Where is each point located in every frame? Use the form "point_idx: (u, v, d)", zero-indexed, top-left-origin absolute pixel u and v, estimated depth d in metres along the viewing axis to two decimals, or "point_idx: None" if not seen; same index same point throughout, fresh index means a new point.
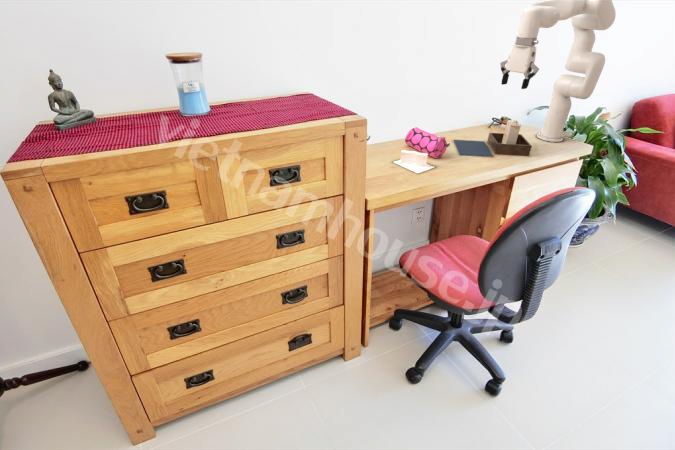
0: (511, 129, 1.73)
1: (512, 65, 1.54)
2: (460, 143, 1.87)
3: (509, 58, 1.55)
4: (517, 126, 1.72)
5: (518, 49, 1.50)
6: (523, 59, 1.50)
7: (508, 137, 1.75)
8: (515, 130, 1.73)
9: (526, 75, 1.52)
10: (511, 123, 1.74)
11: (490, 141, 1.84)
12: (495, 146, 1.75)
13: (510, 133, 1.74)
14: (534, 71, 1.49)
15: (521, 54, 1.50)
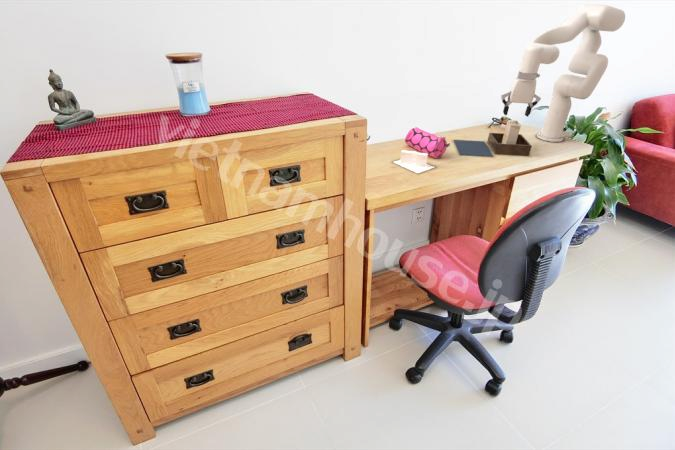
0: (511, 129, 1.73)
1: (518, 97, 1.67)
2: (460, 143, 1.87)
3: (515, 92, 1.66)
4: (517, 126, 1.72)
5: (525, 83, 1.63)
6: (530, 91, 1.65)
7: (508, 137, 1.75)
8: (515, 130, 1.73)
9: (531, 104, 1.69)
10: (511, 123, 1.74)
11: (490, 141, 1.84)
12: (495, 146, 1.75)
13: (510, 133, 1.74)
14: (538, 100, 1.68)
15: (528, 87, 1.64)
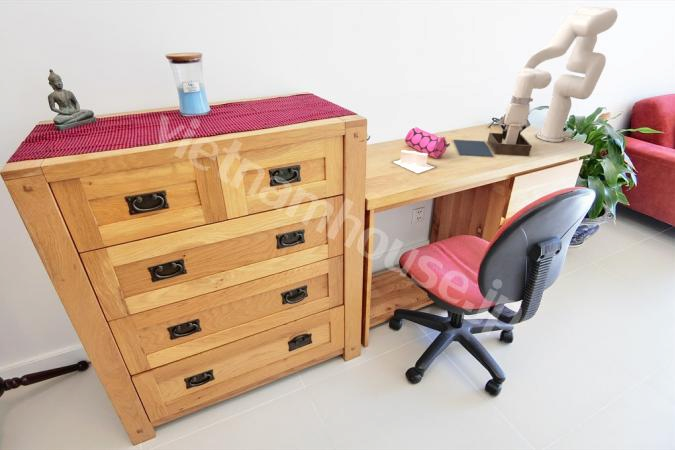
0: (511, 129, 1.73)
1: (512, 121, 1.73)
2: (460, 143, 1.87)
3: (509, 115, 1.72)
4: (517, 126, 1.72)
5: (518, 107, 1.69)
6: (524, 115, 1.71)
7: (508, 137, 1.75)
8: (515, 130, 1.73)
9: (521, 129, 1.75)
10: None
11: (490, 141, 1.84)
12: (495, 146, 1.75)
13: (510, 133, 1.74)
14: (527, 125, 1.75)
15: (522, 111, 1.70)
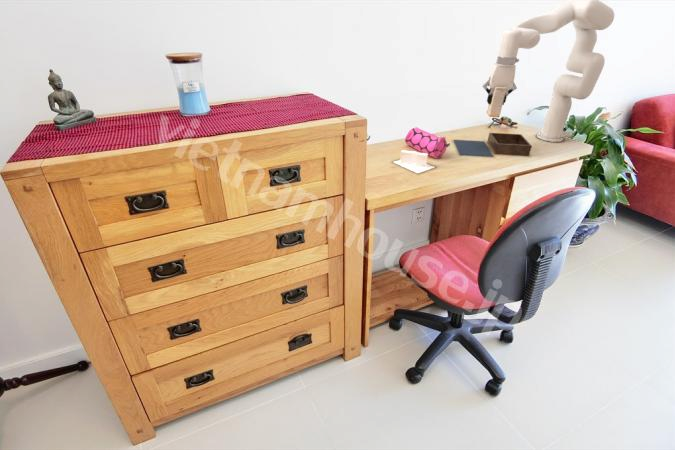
0: (496, 92, 1.64)
1: (498, 83, 1.64)
2: (460, 143, 1.87)
3: (494, 77, 1.63)
4: (503, 89, 1.63)
5: (504, 68, 1.60)
6: (509, 77, 1.62)
7: (493, 101, 1.66)
8: (501, 93, 1.64)
9: (507, 92, 1.66)
10: None
11: (490, 141, 1.84)
12: (495, 146, 1.75)
13: (495, 97, 1.65)
14: (513, 89, 1.66)
15: (507, 72, 1.61)
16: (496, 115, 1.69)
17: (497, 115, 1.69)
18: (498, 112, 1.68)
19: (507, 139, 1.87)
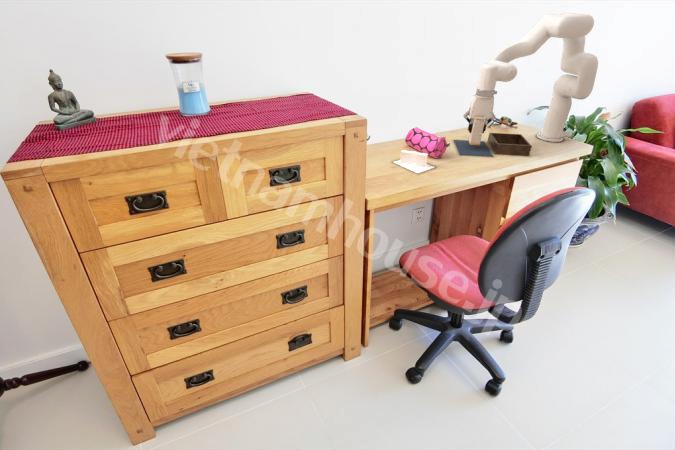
0: (476, 122, 1.71)
1: (477, 113, 1.71)
2: (460, 143, 1.87)
3: (473, 108, 1.70)
4: (482, 119, 1.70)
5: (482, 100, 1.67)
6: (488, 108, 1.69)
7: (473, 130, 1.74)
8: (480, 123, 1.71)
9: (486, 122, 1.73)
10: None
11: (490, 141, 1.84)
12: (495, 146, 1.75)
13: (475, 126, 1.72)
14: (492, 118, 1.73)
15: (486, 104, 1.68)
16: (476, 143, 1.76)
17: (477, 143, 1.76)
18: (478, 140, 1.76)
19: (507, 139, 1.87)
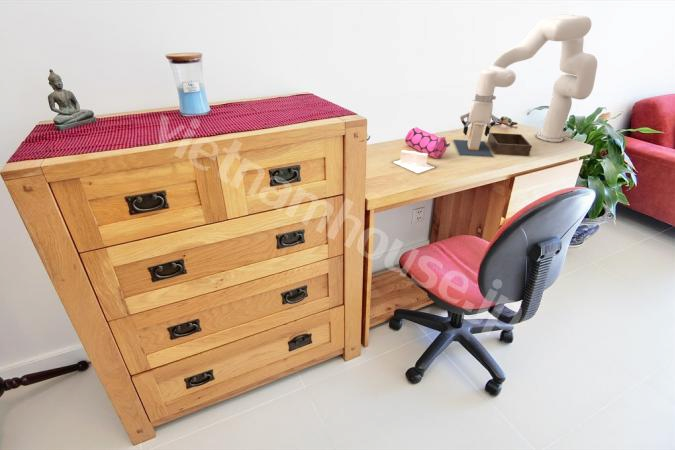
0: (475, 128, 1.73)
1: (476, 118, 1.72)
2: (460, 143, 1.87)
3: (472, 113, 1.71)
4: (481, 125, 1.72)
5: (481, 105, 1.69)
6: (487, 113, 1.70)
7: (472, 136, 1.75)
8: (479, 129, 1.73)
9: (489, 125, 1.74)
10: (475, 122, 1.73)
11: (490, 141, 1.84)
12: (495, 146, 1.75)
13: (474, 132, 1.74)
14: (495, 121, 1.73)
15: (485, 109, 1.69)
16: (475, 148, 1.78)
17: (476, 148, 1.78)
18: (477, 146, 1.77)
19: (507, 139, 1.87)
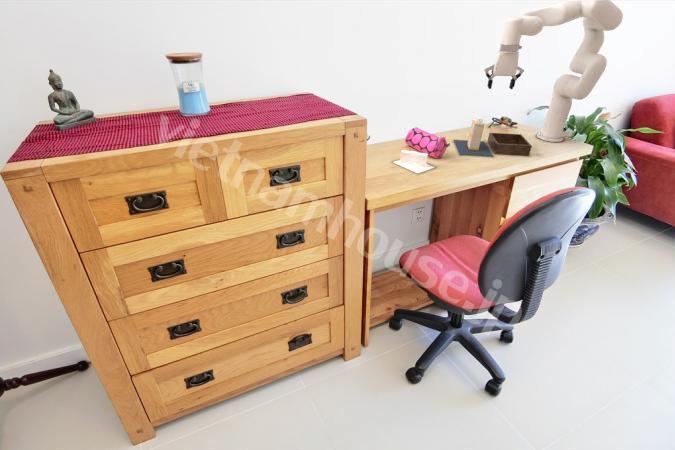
0: (475, 128, 1.73)
1: (501, 70, 1.68)
2: (460, 143, 1.87)
3: (498, 64, 1.67)
4: (481, 125, 1.72)
5: (507, 55, 1.64)
6: (513, 63, 1.66)
7: (472, 136, 1.75)
8: (479, 129, 1.73)
9: (515, 77, 1.69)
10: (475, 122, 1.73)
11: (490, 141, 1.84)
12: (495, 146, 1.75)
13: (474, 132, 1.74)
14: (521, 72, 1.69)
15: (511, 59, 1.65)
16: (475, 148, 1.78)
17: (476, 148, 1.78)
18: (477, 146, 1.77)
19: (507, 139, 1.87)
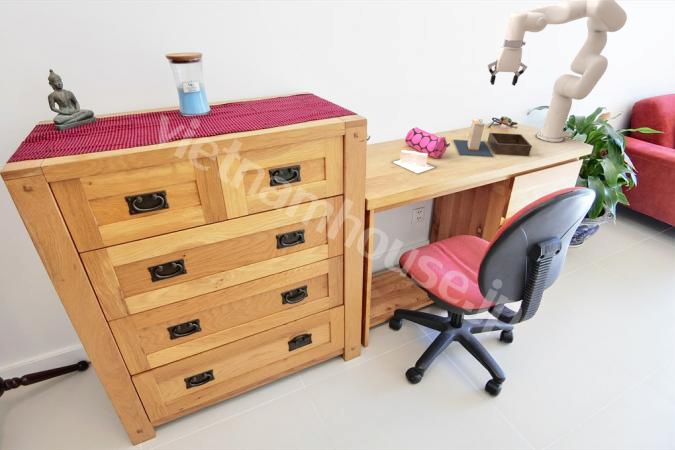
0: (475, 128, 1.73)
1: (505, 66, 1.68)
2: (460, 143, 1.87)
3: (501, 60, 1.67)
4: (481, 125, 1.72)
5: (510, 51, 1.64)
6: (516, 60, 1.66)
7: (472, 136, 1.75)
8: (479, 129, 1.73)
9: (518, 73, 1.70)
10: (475, 122, 1.73)
11: (490, 141, 1.84)
12: (495, 146, 1.75)
13: (474, 132, 1.74)
14: (524, 69, 1.69)
15: (514, 55, 1.65)
16: (475, 148, 1.78)
17: (476, 148, 1.78)
18: (477, 146, 1.77)
19: (507, 139, 1.87)
